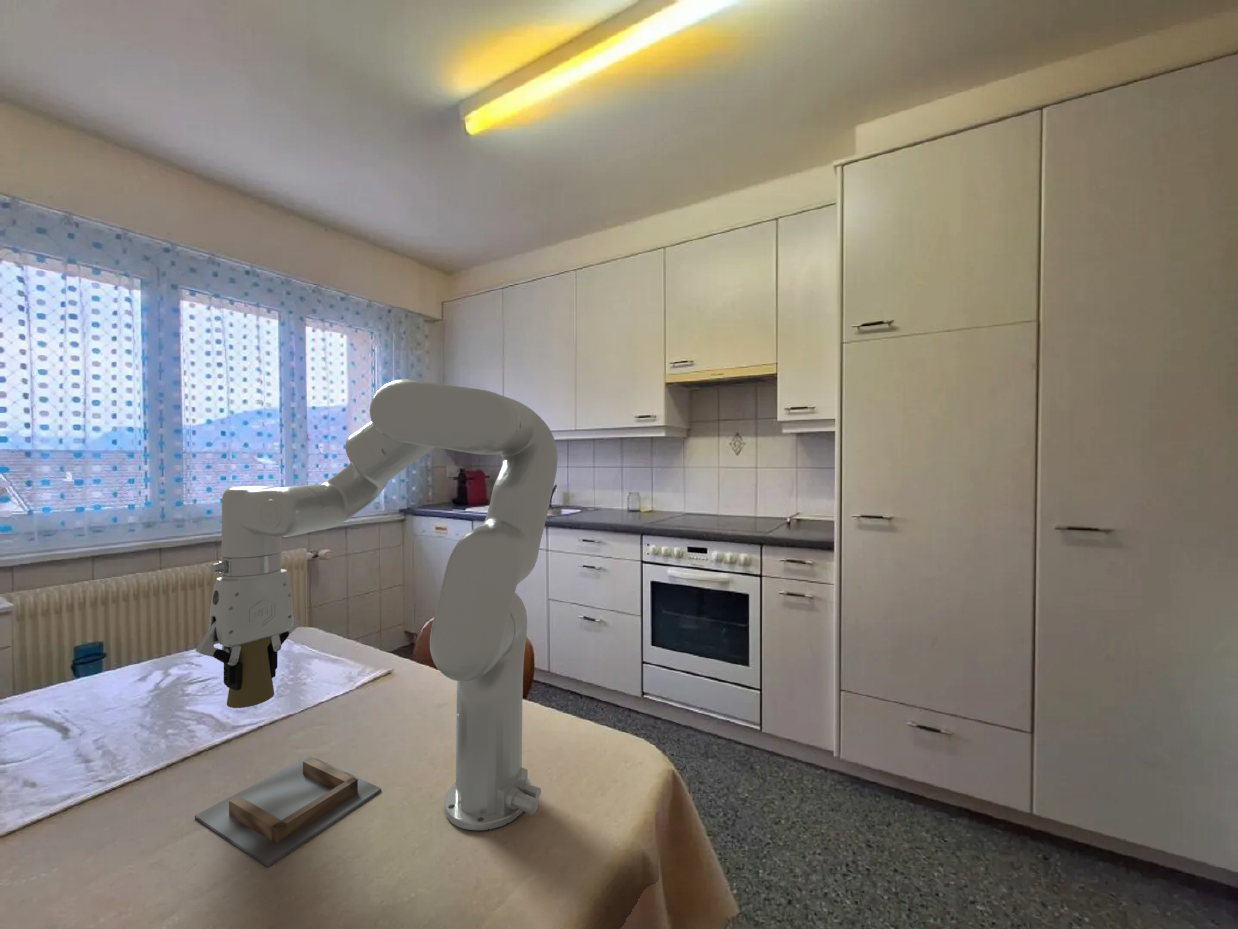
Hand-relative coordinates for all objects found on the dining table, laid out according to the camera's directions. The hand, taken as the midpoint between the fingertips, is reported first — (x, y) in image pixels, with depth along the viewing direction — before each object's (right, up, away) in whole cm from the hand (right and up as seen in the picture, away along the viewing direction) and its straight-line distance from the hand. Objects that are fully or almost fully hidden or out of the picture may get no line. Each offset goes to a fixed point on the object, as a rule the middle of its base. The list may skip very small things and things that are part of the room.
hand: (251, 680), depth 77 cm
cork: (0, -3, 0) cm, 3 cm away
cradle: (+11, -16, -5) cm, 20 cm away
